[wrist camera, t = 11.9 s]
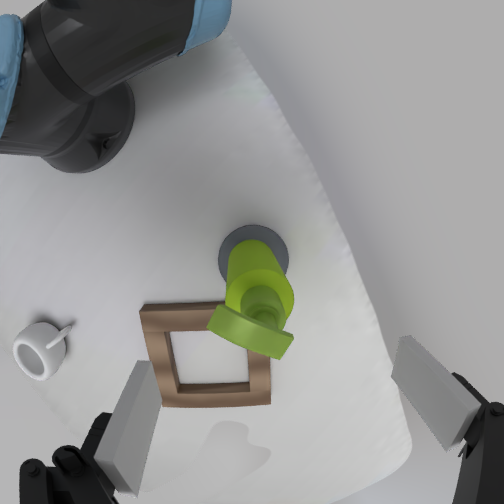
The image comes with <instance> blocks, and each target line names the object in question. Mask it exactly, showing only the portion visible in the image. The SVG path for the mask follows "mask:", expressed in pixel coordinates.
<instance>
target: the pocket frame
mask: <svg viewBox="0 0 504 504" xmlns="http://www.w3.org/2000/svg"><path fill="white" fill-rule="evenodd" d="M219 304H222V305H225V301H223V302H203V303H178V304H144V305H143V307H142V308H141V310H140V311H139V314H140V319H141V324H142V329H143V333H144V338H145V342H146V347H147V351H148V355H149V359H150V361H152V365H153V369H154V373H155V377H156V380H157V384H158V387H159V391H160V394H161V398H162V406H163V407H179V408H215V407H241V406H256V405H268V404H271V384H270V357H269V356H265V355H262V354H259V353H257V352H254V351H251V350H248V349H247V352H248V367H249V381H250V382H241V383H220V384H180V383H179V378H178V374H177V369H176V365H175V360H174V355H173V350H172V345H171V340H170V334H169V332H171V331H207V330H208V329H207V328H206V327H207V325H208V323H209V321H210V319H211V317H212V315H213V313H214V311H215V309H216V307H217V305H219Z"/></svg>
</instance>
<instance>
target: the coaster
mask: <svg viewBox="0 0 504 504" xmlns="http://www.w3.org/2000/svg"><path fill="white" fill-rule="evenodd" d="M245 240H258V241H261V242H263V243H265V244H266V245H267V246H268V247H269V248H270V249H271V250H272V252H273V254H274V256H275V258H276V260H277V261H278V263H279V265H280V267H281V269H282V271H283V272H284V274H286V271H287V268H288V263H289V256H288V251H287V248H286V245H285V243H284V242H283V240H282V239H281V238H280V237H279V236H278V235H277V234H276V233H275V232H274V231H272V230H271V229H269V228H266V227H263V226H258V225H250V226H244V227H241V228H239V229H237V230H235V231H233V232H232V233H231V234H230V235H229V236H228V237H227V238H226V239H225V240H224V242H223V244H222V246H221V248H220V251H219V257H218V265H219V270H220V273H221V275H222V277H223V278H224V280H225V281H226V282H227V272H228V260H229V255H230V253H231V251H232V249H233V248H234V247H235V246H236V245H237V244H239V243H240V242H242V241H245Z"/></svg>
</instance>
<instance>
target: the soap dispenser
mask: <svg viewBox="0 0 504 504" xmlns="http://www.w3.org/2000/svg"><path fill="white" fill-rule="evenodd" d="M293 305H294V294H293V290H292V288H291V285H290V284H289V282H288V280H287V278H286V276H285V274H284V272H283V271H282V269H281V267H280V265H279V263H278V261H277V260H276V258H275V256H274V254H273V252H272V250H271V249H270V248H269V247H268V246H267V245H266V244H265V243H263V242H261V241H258V240H245V241H242V242H240V243H239V244H237V245H236V246H235V247H234V248H233V249H232V251H231V253H230V255H229V260H228V272H227V285H226V298H225V305H222V304H219V305H217V307H216V309H215V311H214V313H213V315H212V317H211V319H210V321H209V323H208V325H207V327H206V328H207V329H208V330H210V331H212V332H213V333H215V334H217V335H219V336H220V337H222V338H224V339H226V340H228V341H230V342H232V343H234V344H236V345H239V346H241V347H243V348H246V349H248V350H251V351H254V352H257V353H259V354H262V355H265V356H269V357H272V358H275V359H278V360H280V359H281V358H282V356H283V355H284V353H285V352H286V350H287V348H288V347H289V345H290V344H291V342H292V341H293V339H294V337H293V334H291V333H288V332H285V331H283V328H284V326H285V323H286V319H287V318H288V317H289V315H290V313H291V311H292V309H293Z"/></svg>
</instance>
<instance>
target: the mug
mask: <svg viewBox="0 0 504 504" xmlns="http://www.w3.org/2000/svg"><path fill="white" fill-rule="evenodd" d="M71 329H72V328H71V326H67V327H65V328H64V329H62V330H61V331H59V330H58V329H57V328H56V327H54V326H53V325H51V324H49V323H45V322H41V323H35V324H32V325H30V326H28V327H26V328H25V329H23V330H22V331H21V332H20V333H19V334H18V335H17V337H16V338H15V340H14V343H13V354H14V357H15V359H16V361H17V363H18V365H19V366H20V368H21V369H22V370H23V371H24V372H25V373H26V374H27V375H28V376H30V377H31V378H33V379H35V380H38V381H43V380H47V379H49V378H50V377H51V376H53V375H54V374H55V373H56V371H57V370H58V369H59V367H60V366H61V364H62V362H63V359H64V356H65V352H66V345H65V341H64V337H65V336H66V335H67V334H68V333H69V332H70V331H71Z"/></svg>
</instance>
